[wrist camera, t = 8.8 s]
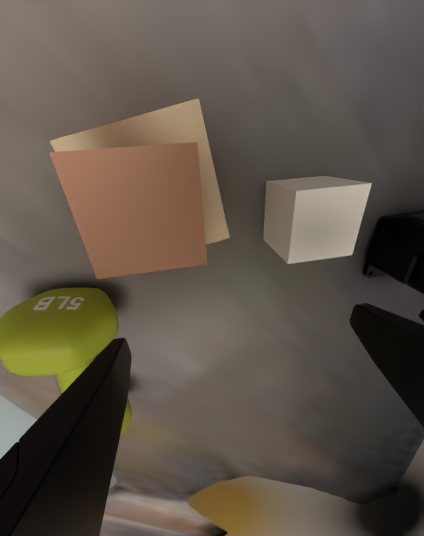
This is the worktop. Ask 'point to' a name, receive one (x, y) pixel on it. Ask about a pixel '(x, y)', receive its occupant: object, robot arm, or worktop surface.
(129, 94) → the worktop surface
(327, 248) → the offwhite cube
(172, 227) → the terracotta cube
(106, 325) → the dumbbell
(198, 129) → the oak base block
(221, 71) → the worktop surface
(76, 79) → the worktop surface
